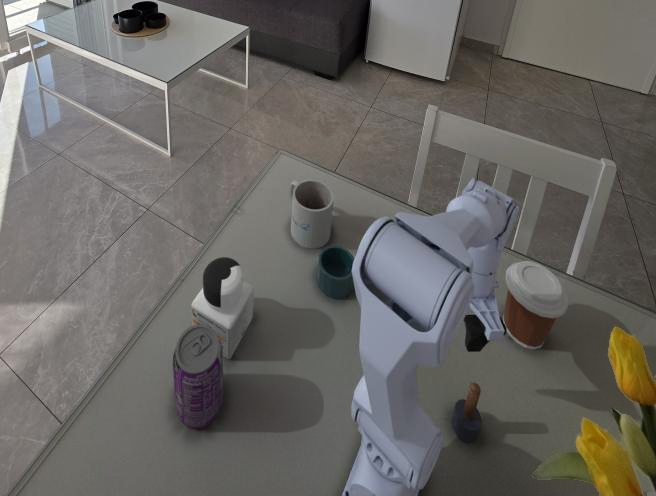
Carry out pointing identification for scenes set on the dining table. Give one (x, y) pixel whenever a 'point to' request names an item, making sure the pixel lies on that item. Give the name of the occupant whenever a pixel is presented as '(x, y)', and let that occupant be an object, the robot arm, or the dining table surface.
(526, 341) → the coffee cup
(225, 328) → the container
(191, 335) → the beverage can
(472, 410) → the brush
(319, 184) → the mug
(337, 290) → the dark teal cup
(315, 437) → the dining table surface
